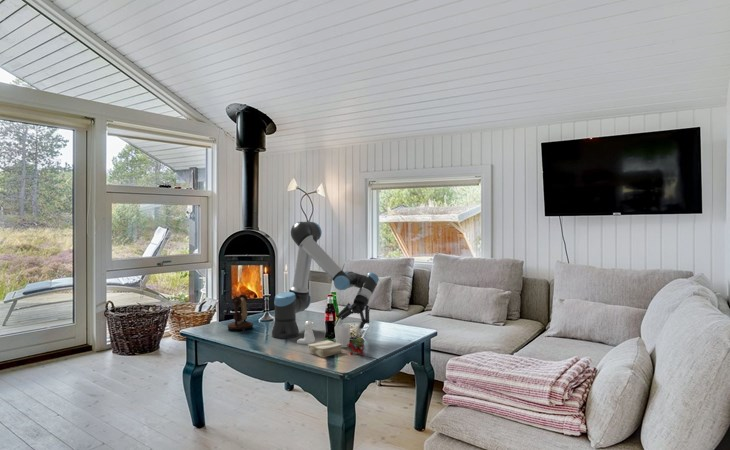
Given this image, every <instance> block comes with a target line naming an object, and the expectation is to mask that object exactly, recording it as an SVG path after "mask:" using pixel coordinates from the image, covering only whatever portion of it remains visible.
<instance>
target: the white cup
mask: <svg viewBox="0 0 730 450" xmlns="http://www.w3.org/2000/svg"><path fill="white" fill-rule="evenodd" d="M334 328H335V329H334V335H335V342H336V343H339V344H342V346H341V348H348V347H349V346H347V344H350V341H351V339H350V336H351V325H349V324H341V325H337V326H336V325H334Z"/></svg>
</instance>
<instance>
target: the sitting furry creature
mask: <svg viewBox="0 0 730 450" xmlns="http://www.w3.org/2000/svg"><path fill="white" fill-rule="evenodd" d="M314 325H315V321H311V320H307V321H305V323H304V324H303V329H304V333H303V334H304V335H303V336H304V337H303V338H299V339H297V340H296V343H297V344H299V345H307V346H308V344H312V343H316V337H315V335H314V331H313V326H314Z"/></svg>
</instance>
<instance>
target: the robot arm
mask: <svg viewBox="0 0 730 450" xmlns="http://www.w3.org/2000/svg"><path fill="white" fill-rule="evenodd" d="M322 232H323V231H322V228H321V226H320V225H319V224H318V223H316V222H314V221H297V222H295V223H294V224H293V225H292V227H291V230H290V236H291V239H292V240H293V242H294V243H295V244H296V246H298V251H297V255H296V256H297V257H296V262H295V269H294V275H293V282H292V285H291V286H290V287H289V289H288V290H289V291H285V292H280V293H277V294H276V295H275V296H274V301H273V302H274V303H273V304H274V324H273V326H272V331H271V337H272V338H276V339H289V338H290V339H291V338H295V337H297V336H299V335H300V329H299V327H298V325H297V318H296V317H297V315H296V314H298V313H300V312H304V311H306V310H307V309H308V308H309V306H310V305H311V303H312V298H311V296H310V295H311V294H310V290H309V288H308V285H309V278H310V271H311V266H312V260H313V261H314V263H316V264H317V265H318V266H319V267H320V269H321V270H323V272H325V274H326V275H327V276H328V277H329V278H330V279H331V280H332V281H333V284H334V287H335V289H337V290H338V291H345V290H347V289H350V288H353V287H355V288H358V291H357V294H356V295H355V298H354V299H353V303H351V304H350V302H348V303H347V304H346V305H345V306H344V308H343V309H341V310H340V311H339V313H337V314H336V315H335V316H336V318H337V321H336V323H335V324H336V325H335V326H337V325H343V322H344V321H343V320H344V319H345V320H346V318H347V317H349V316H350V315H353V314H358V315H359V316H360V319H361V320H359V323H358V325H357V327H356V329H355V331H354V332H355V334H356V335H357V336H359V334H360V333H361V331H362V330H363V329H364V327H365V325H366V324H370V310H371V308H370V306H369V301H370V300H371V298H372V296H373V293H374V292H375V289H376V288H377V285H378V284H379V280H380V279H379V276H378V275H377V274H376V273H374V272H367V274H366V275H364V274H360V273H357V272H353V271H348V270H346V271H344V270H343V269H342V268H341V267H340V266H339V265H338V264H337V263H336V261H334V260H333V258H332V257H331V256H330V255H329V254H328V253H327V252H326V251H325V250H324V249H323V248H322V246H320V245H319V244H318V241H319V240H321V239H320V238H321V237H322ZM334 330H335V327H334Z"/></svg>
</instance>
